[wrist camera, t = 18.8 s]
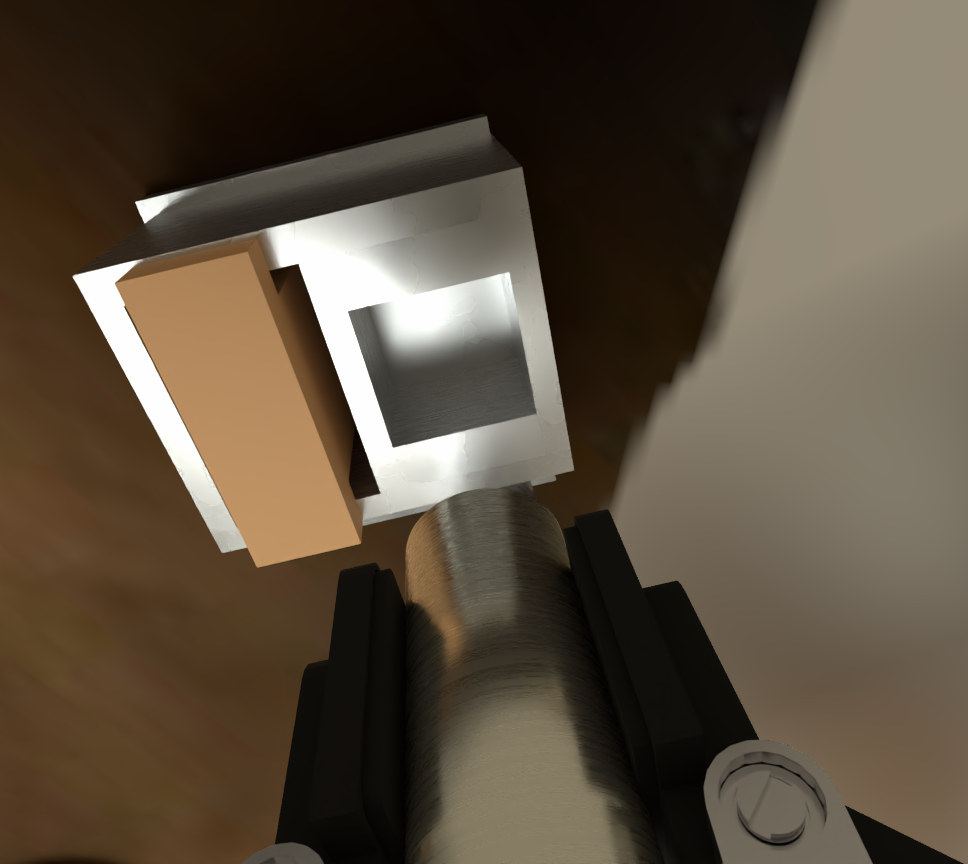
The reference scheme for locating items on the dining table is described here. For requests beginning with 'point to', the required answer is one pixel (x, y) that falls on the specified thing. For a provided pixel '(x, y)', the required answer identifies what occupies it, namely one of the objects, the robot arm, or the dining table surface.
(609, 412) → the dining table surface
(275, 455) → the tan rectangular block
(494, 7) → the dining table surface
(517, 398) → the pole on box base
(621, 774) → the pale grey cylinder
